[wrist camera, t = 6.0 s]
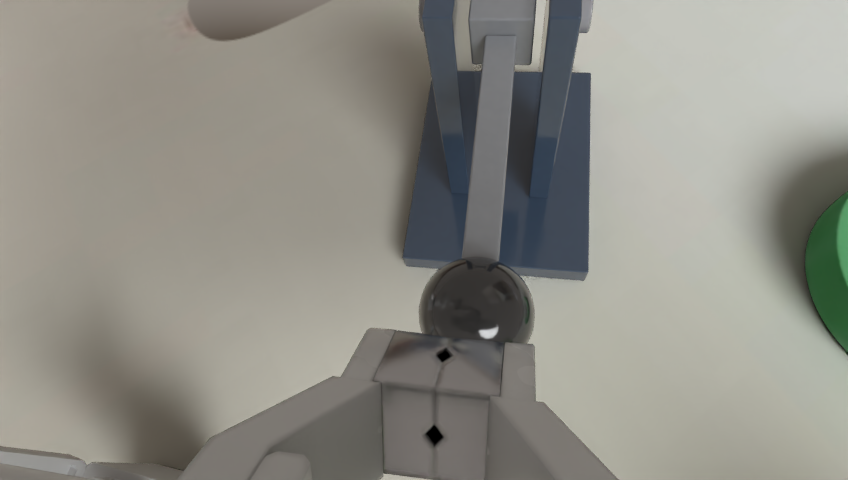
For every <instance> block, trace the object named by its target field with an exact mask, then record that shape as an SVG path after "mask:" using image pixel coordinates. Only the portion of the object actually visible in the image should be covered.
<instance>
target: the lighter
mask: <svg viewBox="0 0 848 480" xmlns="http://www.w3.org/2000/svg"><path fill="white" fill-rule="evenodd" d="M0 463H3V464H9V465H15V466H21V467H26V468H32V469H38V470H43V471H49V472H55V473H61V474H66V475H72V476H78V477H84V478H89V479H95V480H177V478H178V477H179V476H180V475H181V474H182V472H183V471H181V470H178V469H174V468H170V467H166V466H162V465H158V464H143V463H103V462H91V463H90V464H88V465H87V466H86V463H85V461H83V460H81V459H79V458H77V457H74V456H72V455H69V454H61V453H52V452H44V451H36V450H28V449H19V448H11V447H3V446H0Z"/></svg>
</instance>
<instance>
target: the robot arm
mask: <svg viewBox="0 0 848 480" xmlns="http://www.w3.org/2000/svg"><path fill="white" fill-rule="evenodd" d="M503 355H504V357H503ZM502 369H503V370H502ZM383 473H384V474H392V475H400V476H408V477H416V478H424V479H432V480H618V479H617V478H616V476H615V475H614V474H613V473H612V472H611V471H610V470H609V469H608V468H607V467H606V466H605V465H604V464H603V463H602V462H601V461H600V460H599V459H598V458H597V457H596V456H595V455H594V454H593V453H592V452H591V451H590V449H589V448H588V447H587V446H586V445H585V444H584V443H583V442H582V441H581V440H580V439H579V438H578V437H577V436H576V435H575V434H574V433H573V432H572V431H571V430H570V429H569V428H568V427H567V426H566V425H565V423H564V422H563V421H562V420H561V419H560V418H559V417H558V416H557V415H556V414H555V413H554V412H553V411H552V410H551V409H550V408H549V407H548V406H547V405H546V404H545V403H544V402H537V401H536V388H535V346H534V345H533V344H524V343H509V342H505V347H504V342H496V341H484V340H472V339H459V338H450V337H446V336H438V335H430V334H422V333H414V332H406V331H399V330H398V331H396V330H392V329H381V328H369V329H368V330H367V331H366V333H365V334H364V336H363V338H362V340H361V341H360V343H359V345H358V347H357V349H356V350H355V352H354V354H353V356H352V357H351V359H350V361H349V363H348V365H347V366H346V368H345V370H344V372H343V373H342V375H341V377H335V376H332V377H330V378H328V379H326V380H324V381H322V382H320V383H318V384H316V385H314V386H312V387H310V388H308V389H306V390H304V391H302V392H300V393H298V394H296V395H294V396H292V397H290V398H288V399H286V400H284V401H283V402H281V403H279V404H277V405H275V406H273V407H271V408H269V409H267V410H265V411H263V412H261V413H259V414H257V415H255V416H253V417H251V418H249V419H247V420H245V421H243V422H241V423H239V424H237V425H235V426H233V427H231V428H229V429H227V430H225V431H223V432H221V433H219V434H217V435H215V436H213V437H211V438H210V439H209V440H208V441H207V442H206V444H205V445H204V446H203V447H202V449H201V450H200V451H199V452H198V454H197V455H196V456H195V457H194V459H193V460H192V461H191V462H190V464H189V465H188V466H187V467H186V469H185V470H184V471H183V472H182V474H181V475H180V476H179V477H178V478H177V480H380V479H381V478H382V477H383ZM0 480H95V479H89V478H84V477H78V476H72V475H66V474H61V473H55V472H49V471H43V470H38V469H32V468H26V467H21V466H15V465H9V464H3V463H0Z"/></svg>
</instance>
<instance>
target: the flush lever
mask: <svg viewBox="0 0 848 480" xmlns="http://www.w3.org/2000/svg"><path fill="white" fill-rule="evenodd" d="M535 12H536V0H470V8H469V17H468V23H469V35H470V47H471V59H472V64H482V70H481V79H480V89H479V98H478V108H477V117H476V127H475V137H474V146H473V156H472V165H471V175H470V184H469V194H468V204H467V213H466V223H465V232H464V242H463V251H462V258H460V259H457V260H454V261H452V262H450V263H448V264H446V265H445V266H443V267H442V268H440V269H439V270H438V271H437V272H436V273H435V274H434V275H433V276H432V277H431V279H430V280H429V282H428V283H427V285H426V286H425V289H424V291H423V293H422V296H421V300H420V305H419V323H420V328H421V331H422V334H430V335H438V336H446V337H450V338H459V339H472V340H484V341H496V342H504V347H505V342H509V343H524V344H527V343H528V342H529V339H530V337H531V335H532V331H533V327H534V320H535V311H534V304H533V300H532V296H531V294H530V291H529V289H528V287H527V285H526V284H525V282H524V281H523V280H522V278H521V277H520V276H519V275H518V274H517V273H516V272H515V271H514V270H513V269H512V268H510V267H509V266H507V265H506V264H504V263H502V262H500V249H501V237H502V225H503V213H504V200H505V188H506V176H507V163H508V151H509V139H510V127H511V114H512V102H513V90H514V77H515V65H530V64H531V61H532V49H533V37H534V25H535ZM503 357H504V355H503Z"/></svg>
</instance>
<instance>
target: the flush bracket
mask: <svg viewBox="0 0 848 480" xmlns="http://www.w3.org/2000/svg"><path fill="white" fill-rule="evenodd" d="M469 8H470V0H419V22H420V28H421V31H422V32H424V36H425V42H426V48H427V54H428V60H429V66H430V72H431V78H432V79H431V85H430V92H429V98H428V104H427V110H426V116H425V122H424V128H423V135H422V141H421V147H420V153H419V159H418V165H417V171H416V178H415V184H414V190H413V196H412V202H411V208H410V214H409V221H408V227H407V233H406V239H405V245H404V251H403V260H404V262H405V264H406V266H412V267H425V268H437V269H440V268H442V267H443V266H445V265H446V264H448V263H450V262H452V261H454V260H457V259H460V258H462V251H463V242H464V232H465V223H466V213H467V204H468V194H469V184H470V175H471V165H472V156H473V146H474V137H475V127H476V117H477V108H478V98H479V89H480V79H481V71H474V64H472V59H471V47H470V35H469V23H468V17H469ZM592 11H593V0H546V5H545V14H544V24H543V34H542V43H541V53H540V63H539V72H515V77H514V90H513V102H512V114H511V127H510V139H509V151H508V163H507V176H506V188H505V200H504V213H503V225H502V237H501V249H500V262H502V263H504V264H506V265H507V266H509V267H510V268H512V269H513V270H514V271H515V272H516V273H517V274H518V275H521V276H534V277H546V278H558V279H570V280H582V281H584V280H585V278H586V276H587V274H588V256H589V176H590V95H591V73H572V68H573V63H574V58H575V52H576V47H577V41H578V36H579V33H587V32H588V31H589V29H590V24H591V18H592Z"/></svg>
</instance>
